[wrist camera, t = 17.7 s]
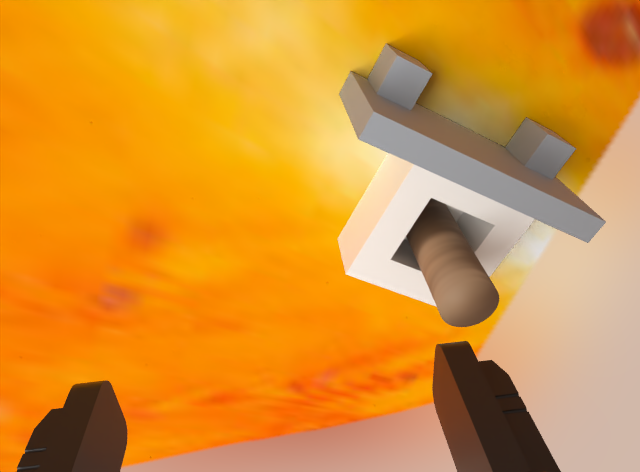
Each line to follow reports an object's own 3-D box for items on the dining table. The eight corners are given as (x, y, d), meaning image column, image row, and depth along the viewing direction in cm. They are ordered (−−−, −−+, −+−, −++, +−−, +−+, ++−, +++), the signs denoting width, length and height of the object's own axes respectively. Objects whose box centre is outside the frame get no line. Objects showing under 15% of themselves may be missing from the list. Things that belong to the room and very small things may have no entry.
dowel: (390, 223, 48) (427, 314, 38) (421, 187, 46) (468, 273, 36) (426, 242, 49) (470, 334, 40) (457, 208, 48) (511, 295, 38)
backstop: (339, 94, 42) (358, 139, 33) (369, 34, 40) (398, 66, 31) (530, 185, 48) (588, 243, 39) (565, 137, 46) (634, 188, 37)
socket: (337, 237, 49) (345, 274, 44) (402, 126, 44) (420, 153, 39) (440, 276, 53) (460, 314, 48) (512, 178, 48) (542, 210, 43)
